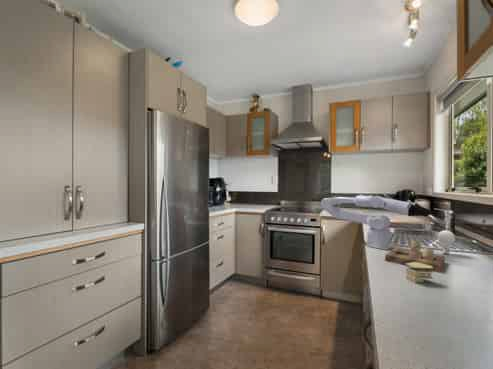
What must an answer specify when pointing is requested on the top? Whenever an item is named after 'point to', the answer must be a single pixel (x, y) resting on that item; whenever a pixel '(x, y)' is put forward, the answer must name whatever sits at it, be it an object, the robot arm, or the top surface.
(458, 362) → the top surface
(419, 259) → the pegboard
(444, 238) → the lightbulb
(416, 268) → the stacked layers on plate
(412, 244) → the beech peg
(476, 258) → the top surface
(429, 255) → the peg
